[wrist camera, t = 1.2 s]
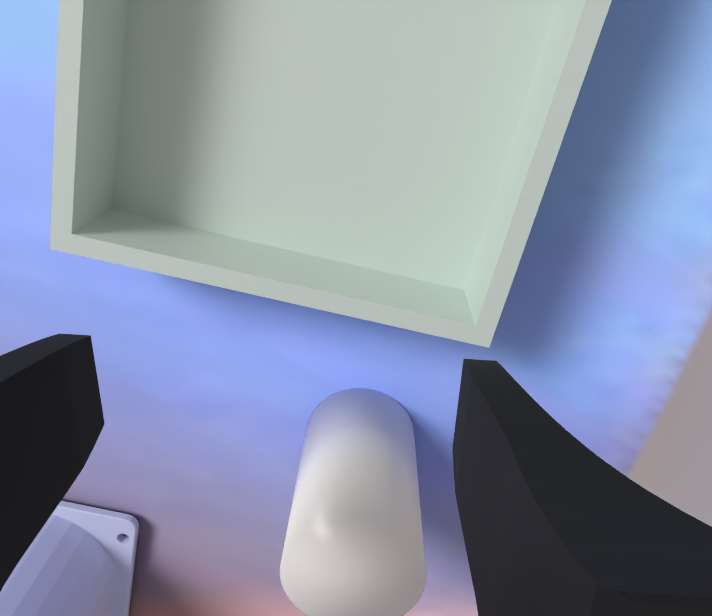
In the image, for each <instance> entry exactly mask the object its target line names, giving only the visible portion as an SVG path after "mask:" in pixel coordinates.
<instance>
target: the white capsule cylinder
mask: <svg viewBox="0 0 712 616" xmlns="http://www.w3.org/2000/svg"><path fill="white" fill-rule="evenodd" d="M280 578H281V583H282V586H283V588H284V591H285V592H286V594H287V596H288V598H289V599H290V600H291V601H292V603H293V604H294V605H295V606H296V607H297V608H298V609H299V610H301V611H302V612H303V613H305V614H306V615H308V616H403V615H404V614H406V613H407V612H408V611H409V610H410V609H412V607H413V606H414V605H415V604H416V603H417V601H418V600H419V599H420V597H421V595H422V593H423V591H424V587H425V583H426V567H425V555H424V544H423V532H422V520H421V508H420V496H419V485H418V473H417V461H416V449H415V437H414V428H413V424H412V421H411V418H410V416H409V415H408V413H407V411H406V410H405V409H404V408H403V406H401V405H400V404H399V403H398V402H397V401H396V400H394V399H393V398H391V397H390V396H388V395H386V394H384V393H381V392H378V391H375V390H370V389H349V390H344V391H340V392H337V393H335V394H333V395H331V396H329V397H327V398H326V399H324V400H323V401H322V402H321V403H320V404H319V405H318V406H317V407H316V408H315V409H314V411H313V412H312V414H311V416H310V418H309V421H308V425H307V430H306V435H305V440H304V445H303V450H302V456H301V461H300V466H299V471H298V476H297V481H296V487H295V492H294V497H293V502H292V507H291V513H290V518H289V523H288V528H287V533H286V538H285V544H284V549H283V554H282V559H281V565H280Z"/></svg>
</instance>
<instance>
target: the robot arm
mask: <svg viewBox="0 0 712 616" xmlns="http://www.w3.org/2000/svg"><path fill="white" fill-rule="evenodd" d="M103 426H104V418H103V412H102V405H101V399H100V392H99V386H98V380H97V373H96V367H95V361H94V354H93V348H92V342H91V336H88V335H72V334H57V335H54V336H50V337H47V338H44V339H41V340H38V341H36V342H33V343H31V344H28V345H25V346H23V347H21V348H18V349H16V350H13V351H11V352H8V353H6V354H4V355H1V356H0V616H128V615H129V606H130V598H131V590H132V581H133V573H134V564H135V556H136V547H137V539H138V530H139V522H138V521H137V519H136V518H135V517H133V516H132V515H129V514H124V513H119V512H114V511H110V510H105V509H100V508H95V507H90V506H85V505H80V504H75V503H70V502H65V501H61V500H62V499H63V497H64V496H65V494H66V493H67V491H68V490H69V488H70V487H71V485H72V484H73V482H74V481H75V479H76V478H77V476H78V475H79V473H80V472H81V470H82V469H83V467H84V465H85V463H86V461H87V459H88V457H89V455H90V453H91V452H92V450H93V448H94V445H95V443H96V441H97V439H98V437H99V435H100V432H101V430H102V428H103ZM453 463H454V479H455V493H456V499H457V504H458V509H459V515H460V520H461V525H462V530H463V535H464V540H465V546H466V551H467V556H468V561H469V566H470V571H471V576H472V581H473V586H474V591H475V596H476V603H477V609H478V616H712V527H711V526H709V525H707V524H705V523H703V522H701V521H700V520H698V519H696V518H694V517H692V516H690V515H688V514H686V513H685V512H683V511H681V510H679V509H678V508H676V507H674V506H673V505H671V504H669V503H667V502H666V501H664V500H662V499H661V498H659V497H657V496H656V495H654V494H652V493H651V492H649V491H647V490H646V489H644V488H642V487H641V486H640V485H638V484H636V483H635V482H633V481H632V480H630V479H629V478H627V477H626V476H625V475H623V474H622V473H620V472H619V471H618V470H616V469H615V468H613V467H612V466H611V465H609V464H608V463H606V462H605V461H603V460H602V459H601V458H599V457H598V456H597V455H596V454H594V453H593V452H592V451H590V450H589V449H588V448H587V447H585V446H584V445H583V444H582V443H581V442H579V441H578V440H577V439H576V438H575V437H574V436H572V435H571V434H570V433H569V432H568V431H566V430H565V429H564V428H563V427H562V426H561V425H560V424H559V423H558V422H556V421H555V420H554V419H553V418H552V417H551V416H550V415H549V414H548V413H547V412H546V411H545V410H544V409H543V408H542V407H541V406H540V405H539V404H538V403H537V402H536V401H535V400H534V399H533V398H532V397H531V396H530V395H529V394H528V393H527V392H526V391H525V390H524V389H523V388H522V387H521V386H520V385H519V384H518V383H517V382H516V381H515V380H514V379H513V378H512V377H511V376H510V374H509V373H508V372H507V371H506V370H505V369H504V368H503V367H502V366H501V365H500V364H499V363H498V362H497V361H489V360H473V359H464V361H463V369H462V377H461V385H460V393H459V401H458V409H457V417H456V425H455V433H454V441H453ZM122 534H126V535H127V536H124V535H122Z"/></svg>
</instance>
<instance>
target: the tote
mask: <svg viewBox="0 0 712 616" xmlns="http://www.w3.org/2000/svg"><path fill="white" fill-rule="evenodd" d="M611 1H612V0H59V15H58V42H57V69H56V96H55V123H54V150H53V177H52V204H51V231H50V249H53V250H57V251H62V252H66V253H70V254H75V255H79V256H84V257H88V258H93V259H97V260H101V261H106V262H110V263H115V264H119V265H124V266H128V267H133V268H137V269H141V270H146V271H150V272H155V273H159V274H164V275H168V276H172V277H177V278H181V279H186V280H190V281H195V282H199V283H204V284H208V285H212V286H217V287H221V288H226V289H230V290H235V291H239V292H243V293H248V294H252V295H257V296H261V297H266V298H270V299H274V300H279V301H283V302H288V303H292V304H297V305H301V306H306V307H310V308H314V309H319V310H323V311H328V312H332V313H337V314H341V315H345V316H350V317H354V318H359V319H363V320H368V321H372V322H377V323H381V324H385V325H390V326H394V327H399V328H403V329H408V330H412V331H416V332H421V333H425V334H430V335H434V336H439V337H443V338H448V339H452V340H456V341H461V342H465V343H470V344H474V345H479V346H483V347H487V348H489V347H490V344H491V341H492V338H493V336H494V333H495V330H496V327H497V324H498V321H499V319H500V316H501V313H502V310H503V307H504V304H505V302H506V299H507V296H508V293H509V290H510V287H511V285H512V282H513V279H514V276H515V273H516V270H517V268H518V265H519V262H520V259H521V256H522V253H523V251H524V248H525V245H526V242H527V239H528V236H529V234H530V231H531V228H532V225H533V222H534V219H535V217H536V214H537V211H538V208H539V205H540V202H541V200H542V197H543V194H544V191H545V188H546V185H547V183H548V180H549V177H550V174H551V171H552V168H553V166H554V163H555V160H556V157H557V154H558V151H559V149H560V146H561V143H562V140H563V137H564V134H565V132H566V129H567V126H568V123H569V120H570V117H571V115H572V112H573V109H574V106H575V103H576V100H577V98H578V95H579V92H580V89H581V86H582V83H583V81H584V78H585V75H586V72H587V69H588V66H589V64H590V61H591V58H592V55H593V52H594V49H595V47H596V44H597V41H598V38H599V35H600V32H601V30H602V27H603V24H604V21H605V18H606V15H607V13H608V10H609V7H610V4H611Z"/></svg>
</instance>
